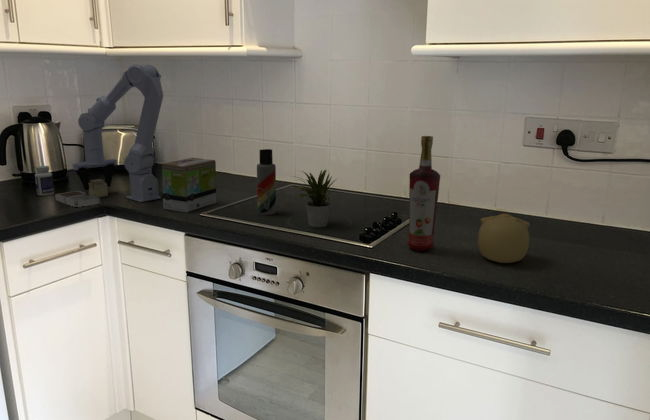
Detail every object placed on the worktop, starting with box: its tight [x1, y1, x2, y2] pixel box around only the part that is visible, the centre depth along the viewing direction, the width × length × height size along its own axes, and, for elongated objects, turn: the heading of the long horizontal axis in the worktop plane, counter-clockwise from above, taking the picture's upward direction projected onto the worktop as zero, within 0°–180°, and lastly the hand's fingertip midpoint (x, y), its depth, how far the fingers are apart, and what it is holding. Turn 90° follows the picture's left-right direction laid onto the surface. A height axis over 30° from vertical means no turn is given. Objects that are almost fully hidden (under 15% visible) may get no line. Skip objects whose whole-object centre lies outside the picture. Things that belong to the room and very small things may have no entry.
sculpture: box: [477, 213, 531, 264], centre depth 124 cm, size 11×12×11 cm
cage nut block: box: [88, 178, 109, 198], centre depth 182 cm, size 4×4×6 cm
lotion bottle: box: [256, 148, 277, 216], centre depth 161 cm, size 6×6×20 cm
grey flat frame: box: [54, 190, 101, 208], centre depth 174 cm, size 15×8×2 cm, turn 49°
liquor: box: [406, 135, 441, 253], centre depth 128 cm, size 7×7×28 cm
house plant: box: [291, 169, 338, 228], centre depth 151 cm, size 14×14×16 cm
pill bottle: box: [34, 165, 55, 197], centre depth 183 cm, size 5×5×10 cm
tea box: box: [161, 157, 217, 213], centre depth 169 cm, size 15×10×15 cm, turn 155°
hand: (97, 188), depth 182 cm, fingers open, 7 cm apart
